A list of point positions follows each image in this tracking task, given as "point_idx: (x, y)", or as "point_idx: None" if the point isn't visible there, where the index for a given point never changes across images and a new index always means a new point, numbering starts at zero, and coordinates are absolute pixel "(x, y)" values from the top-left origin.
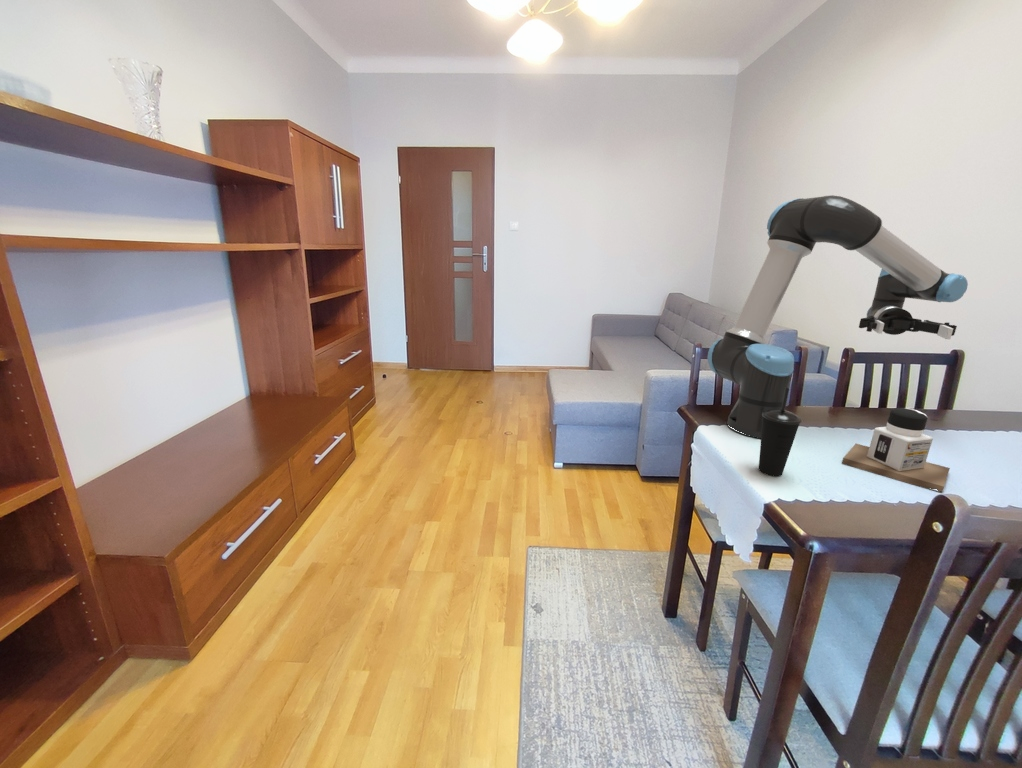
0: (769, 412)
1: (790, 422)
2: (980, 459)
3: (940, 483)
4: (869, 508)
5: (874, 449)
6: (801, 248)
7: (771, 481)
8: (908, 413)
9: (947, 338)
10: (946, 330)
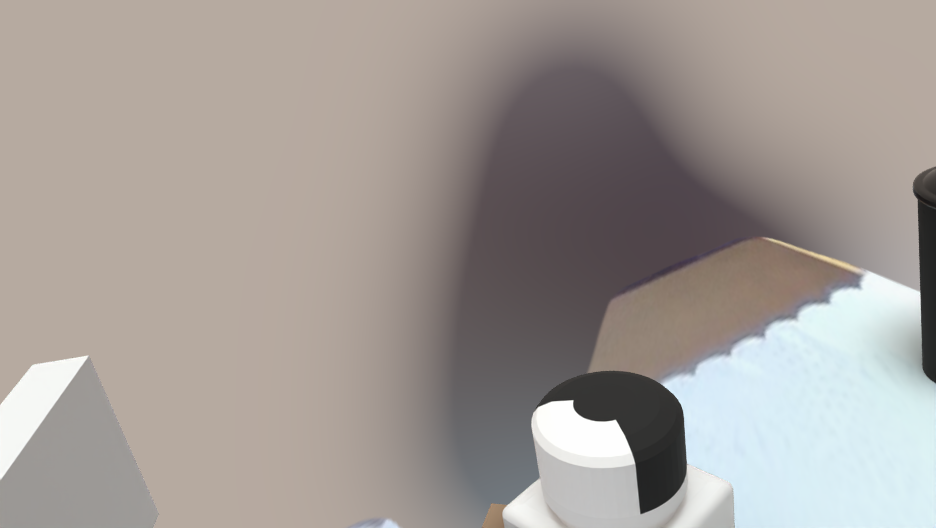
0: None
1: (929, 169)
2: None
3: (495, 519)
4: (678, 349)
5: None
6: None
7: (921, 332)
8: (611, 373)
9: (140, 505)
10: (65, 475)
